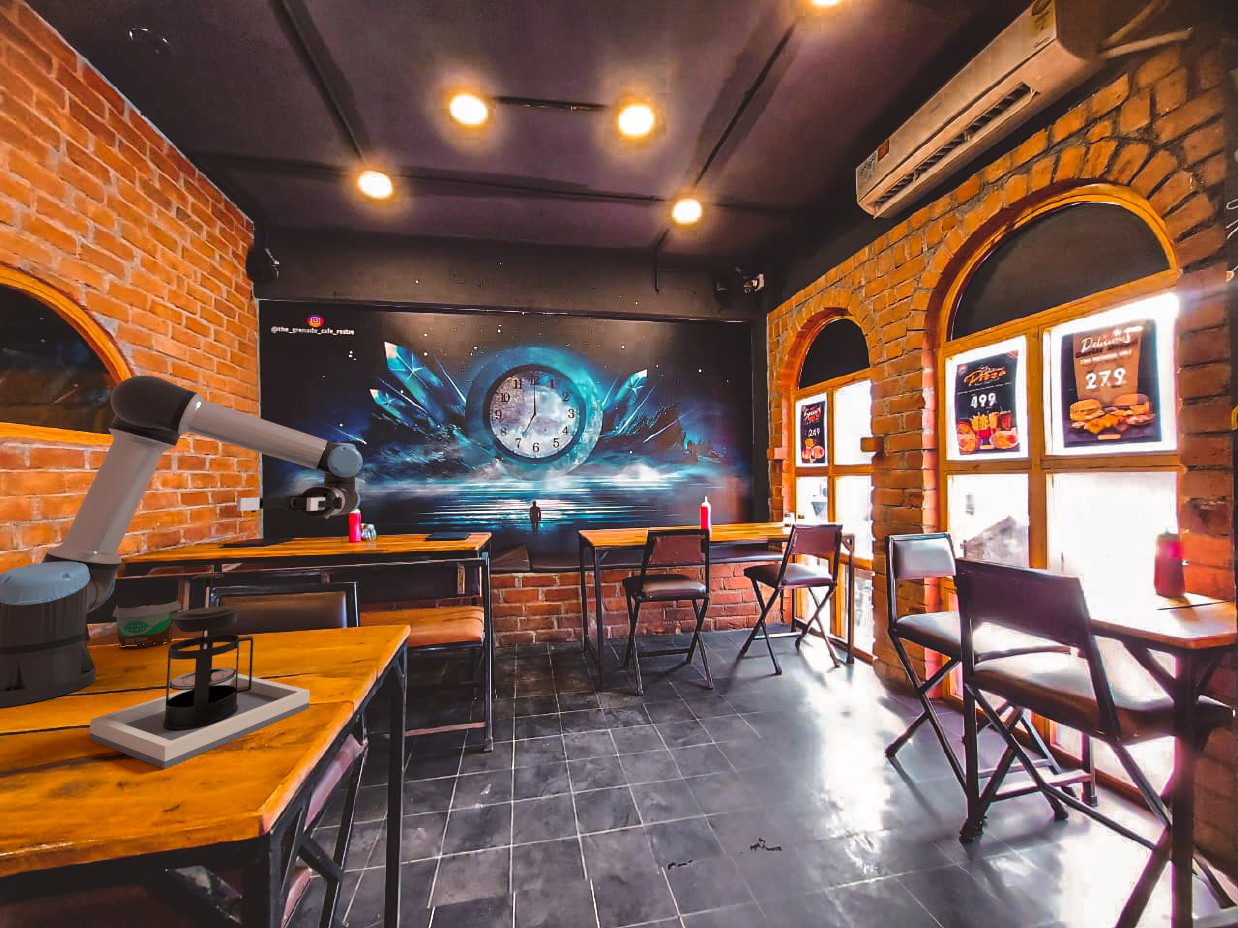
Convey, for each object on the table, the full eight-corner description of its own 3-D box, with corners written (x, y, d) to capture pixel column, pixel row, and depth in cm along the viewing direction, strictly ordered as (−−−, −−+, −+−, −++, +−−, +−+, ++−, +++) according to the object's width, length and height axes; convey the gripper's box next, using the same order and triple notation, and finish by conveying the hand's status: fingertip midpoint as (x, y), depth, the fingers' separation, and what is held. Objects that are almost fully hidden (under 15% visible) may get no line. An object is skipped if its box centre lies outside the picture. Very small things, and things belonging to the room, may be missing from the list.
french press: (152, 738, 73) (160, 582, 74) (160, 714, 81) (168, 573, 82) (250, 716, 80) (256, 574, 82) (250, 696, 88) (255, 567, 89)
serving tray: (89, 739, 75) (90, 719, 75) (236, 689, 94) (237, 673, 94) (164, 769, 67) (165, 746, 67) (309, 707, 86) (309, 690, 86)
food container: (102, 655, 113) (105, 611, 114) (111, 648, 118) (113, 605, 119) (174, 645, 120) (176, 604, 120) (179, 639, 125) (181, 599, 125)
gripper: (373, 516, 125) (336, 521, 104) (268, 517, 122) (207, 522, 101) (374, 487, 126) (337, 486, 105) (269, 486, 123) (209, 486, 101)
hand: (273, 504), depth 103 cm, fingers open, 13 cm apart
